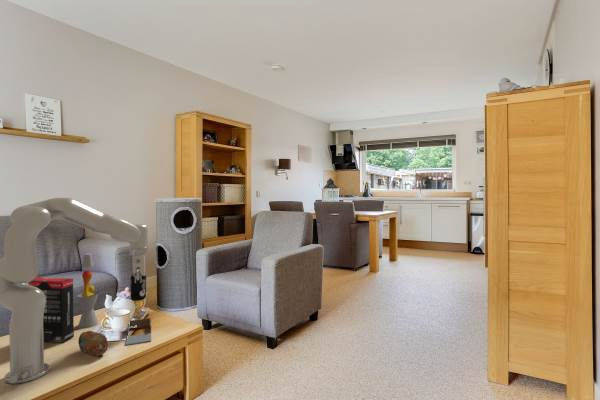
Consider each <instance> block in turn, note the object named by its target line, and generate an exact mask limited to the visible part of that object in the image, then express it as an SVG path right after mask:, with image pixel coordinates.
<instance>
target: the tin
mask: <svg viewBox="0 0 600 400" xmlns="http://www.w3.org/2000/svg"><path fill="white" fill-rule="evenodd" d="M77 343H78V347H79V350H80V351H81V352H82V353H83V354H87V355H90V356H93V357H99V356H102V355H104V354H105V353H106V352H107V350H108V338H107V337H106V335H105V334H104V333H100V332H96V331H93V330H87V331H83V332H81V333H80V334H79V337H78V342H77Z"/></svg>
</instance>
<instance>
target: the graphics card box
mask: <svg viewBox="0 0 600 400" xmlns="http://www.w3.org/2000/svg"><path fill="white" fill-rule="evenodd" d="M28 285H31V286H34V287H37V288H39V289H40V290H41V291H42V292H43V293H44V295H45V298H46V303H45V309H44V316H43V330H44V343H45V342H46V343H48V342H49V343H60V344H62V343H66V342H67V341H69V340H71V339H72V338H74V335H75V332H74V331H75V330H74V329H75V328H74V326H75V324H74V323H75V322H74V278H66V277H65V278H63V277H62V278H61V277H60V278H59V277H41V276H40V277H36V278H35V279H34V280H32V281H31V282H28Z"/></svg>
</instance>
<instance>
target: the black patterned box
mask: <svg viewBox="0 0 600 400" xmlns="http://www.w3.org/2000/svg"><path fill="white" fill-rule="evenodd" d="M129 321H130V326H134V325H137V328H136V329H140V328H141V329H142V328H149V333H151V334H152V317H149V318H148V317H147V318H141V319H132V320H129ZM127 325H128V326H126V334H127V333H128V331H129V332H130V329H129V324H128V323H127Z"/></svg>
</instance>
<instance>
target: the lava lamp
mask: <svg viewBox="0 0 600 400" xmlns="http://www.w3.org/2000/svg"><path fill="white" fill-rule="evenodd" d="M92 256H93V255H92V253H84V254H83V258H82V265H81V268H93V267H94V261H93V257H92ZM92 277H93V272H92V271H90V270H85V271H83V272H82V275H81V278H82V281H83V292H82V293H79V294H77V295H76V296H77V299H78V302H79V304H80V306H81V308H82V312H81V315H80V316H81V317H80V318H79V319H80V320H79V322H78V325H77V327H78V328H79V329H87V328H92V327H95V326H97V325H98V324H99V320H98V317H97V315H96V311H95V309H94V307H95V305H96V302H97V299H98V298H99V297H98V296H99V294H100V293H99V292H97V291H95V286H94V285H92V284H91V285H90V281H91V279H92Z"/></svg>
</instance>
